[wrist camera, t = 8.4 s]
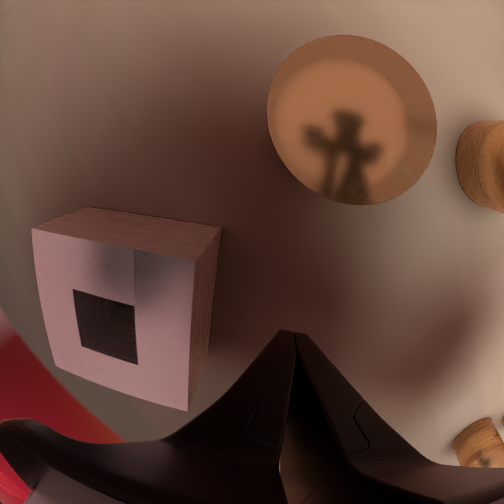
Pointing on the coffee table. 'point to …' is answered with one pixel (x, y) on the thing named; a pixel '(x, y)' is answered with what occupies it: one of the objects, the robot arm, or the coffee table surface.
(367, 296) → the coffee table surface
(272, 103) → the spacers
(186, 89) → the coffee table surface
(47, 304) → the zinc nut
